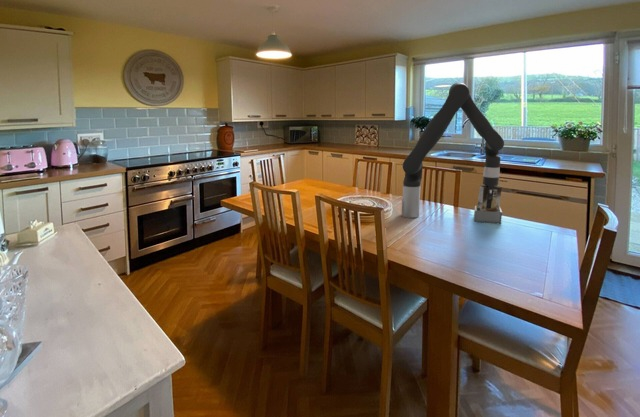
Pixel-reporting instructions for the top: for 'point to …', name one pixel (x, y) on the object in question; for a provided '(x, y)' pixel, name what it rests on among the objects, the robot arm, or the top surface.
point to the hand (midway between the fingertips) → (488, 206)
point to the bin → (487, 216)
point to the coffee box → (483, 198)
